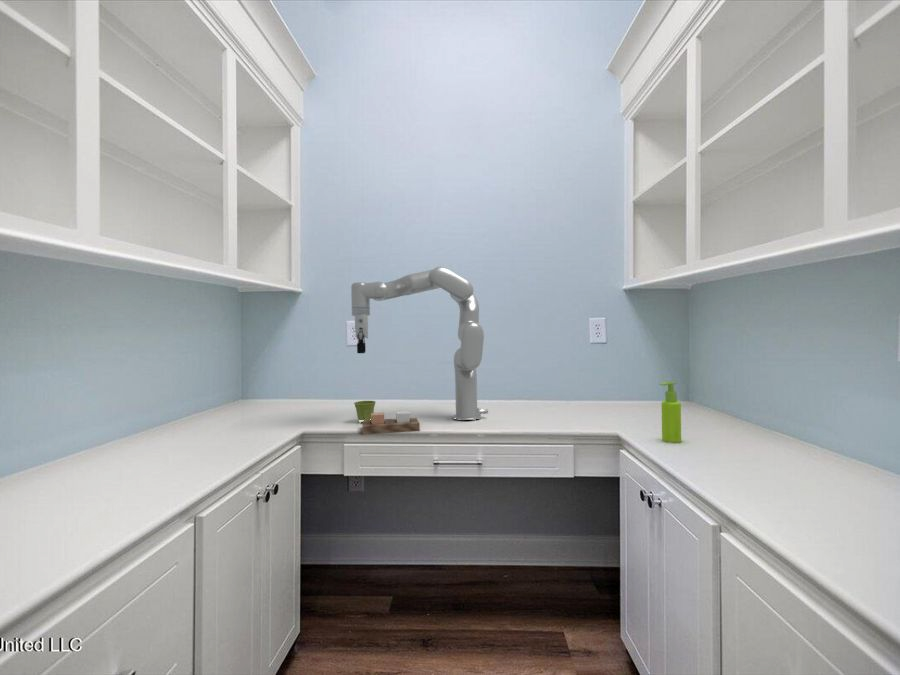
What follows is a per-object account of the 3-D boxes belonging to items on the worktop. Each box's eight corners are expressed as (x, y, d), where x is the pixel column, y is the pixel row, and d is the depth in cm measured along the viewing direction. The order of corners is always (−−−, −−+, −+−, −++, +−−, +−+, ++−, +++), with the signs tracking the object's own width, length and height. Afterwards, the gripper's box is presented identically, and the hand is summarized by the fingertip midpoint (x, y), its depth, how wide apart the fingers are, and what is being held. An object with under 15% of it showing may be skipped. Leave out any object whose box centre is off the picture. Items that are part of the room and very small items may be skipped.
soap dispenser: (655, 440, 157) (654, 381, 156) (671, 438, 159) (670, 380, 159) (669, 444, 151) (668, 383, 151) (685, 441, 154) (684, 382, 153)
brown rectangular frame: (416, 424, 191) (416, 417, 191) (419, 430, 179) (419, 423, 179) (362, 427, 187) (362, 420, 187) (362, 434, 175) (362, 426, 175)
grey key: (408, 420, 187) (408, 411, 187) (409, 423, 182) (409, 413, 182) (396, 421, 186) (396, 411, 186) (397, 424, 181) (396, 413, 181)
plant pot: (369, 424, 193) (369, 404, 193) (350, 423, 196) (349, 403, 196) (380, 420, 202) (379, 400, 202) (361, 419, 205) (360, 400, 205)
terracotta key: (384, 422, 185) (383, 412, 185) (384, 424, 180) (384, 414, 180) (371, 423, 184) (371, 413, 184) (371, 425, 179) (371, 415, 179)
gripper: (369, 311, 185) (370, 353, 185) (369, 312, 202) (370, 351, 202) (350, 311, 183) (351, 353, 184) (352, 313, 200) (353, 352, 201)
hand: (361, 352), depth 193 cm, fingers open, 9 cm apart
